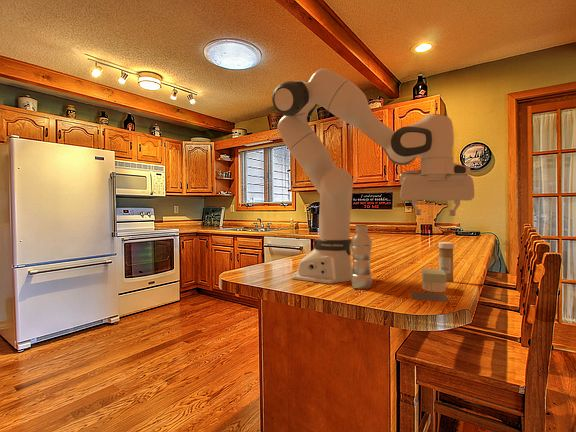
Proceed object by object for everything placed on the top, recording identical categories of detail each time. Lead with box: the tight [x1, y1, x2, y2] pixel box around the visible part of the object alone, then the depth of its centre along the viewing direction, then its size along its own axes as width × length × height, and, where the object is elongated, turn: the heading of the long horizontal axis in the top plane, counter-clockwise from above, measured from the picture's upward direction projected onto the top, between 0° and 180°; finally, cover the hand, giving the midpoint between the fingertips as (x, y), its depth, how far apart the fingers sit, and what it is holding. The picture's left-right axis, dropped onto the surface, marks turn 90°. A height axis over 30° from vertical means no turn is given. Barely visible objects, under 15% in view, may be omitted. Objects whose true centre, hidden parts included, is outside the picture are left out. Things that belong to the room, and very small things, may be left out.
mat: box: [410, 291, 450, 303], centre depth 87 cm, size 9×8×1 cm
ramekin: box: [421, 278, 447, 293], centre depth 95 cm, size 6×6×4 cm
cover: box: [421, 268, 447, 284], centre depth 95 cm, size 6×8×2 cm
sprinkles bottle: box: [438, 241, 455, 284], centre depth 106 cm, size 5×5×13 cm
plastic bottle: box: [350, 224, 373, 290], centre depth 98 cm, size 6×7×20 cm
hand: (434, 215), depth 95 cm, fingers open, 8 cm apart
